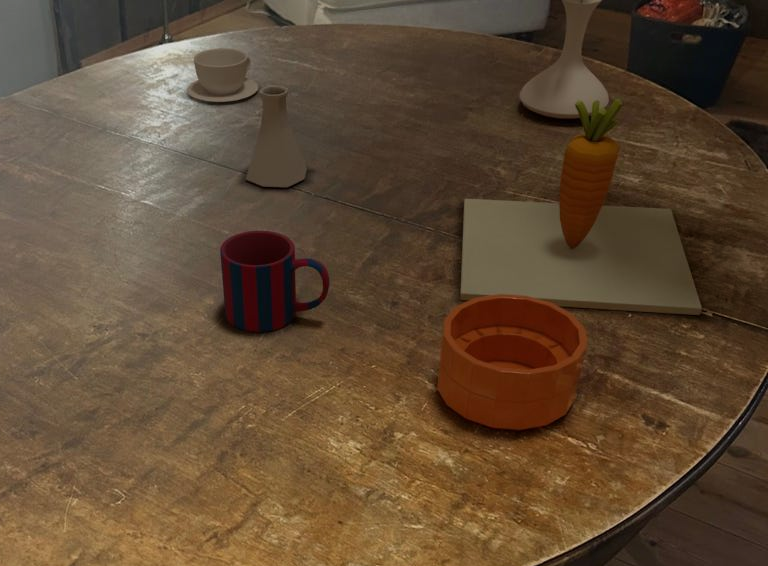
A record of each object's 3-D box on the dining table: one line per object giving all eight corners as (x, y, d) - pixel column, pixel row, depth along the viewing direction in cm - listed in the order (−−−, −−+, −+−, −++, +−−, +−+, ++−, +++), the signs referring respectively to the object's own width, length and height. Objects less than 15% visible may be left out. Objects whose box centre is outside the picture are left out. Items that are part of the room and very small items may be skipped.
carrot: (536, 248, 94) (563, 98, 84) (566, 231, 96) (595, 84, 86) (578, 265, 91) (610, 113, 81) (607, 248, 94) (642, 98, 84)
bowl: (568, 358, 81) (581, 298, 77) (577, 439, 73) (592, 378, 69) (439, 349, 83) (446, 290, 79) (434, 428, 75) (441, 367, 71)
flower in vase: (530, 89, 128) (562, -123, 111) (614, 101, 124) (660, -117, 107) (503, 124, 119) (534, -101, 103) (592, 138, 116) (639, -93, 99)
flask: (316, 168, 111) (316, 83, 104) (291, 194, 106) (289, 106, 99) (262, 159, 113) (259, 75, 106) (235, 183, 108) (230, 96, 102)
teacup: (217, 111, 125) (215, 75, 122) (173, 92, 130) (169, 57, 127) (273, 91, 130) (272, 56, 126) (227, 73, 135) (225, 40, 132)
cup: (245, 288, 91) (241, 224, 86) (339, 310, 88) (340, 245, 83) (212, 323, 87) (206, 257, 82) (310, 347, 83) (309, 280, 79)
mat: (669, 215, 100) (671, 208, 100) (699, 315, 86) (702, 308, 85) (463, 204, 103) (464, 198, 103) (459, 300, 89) (460, 293, 88)
